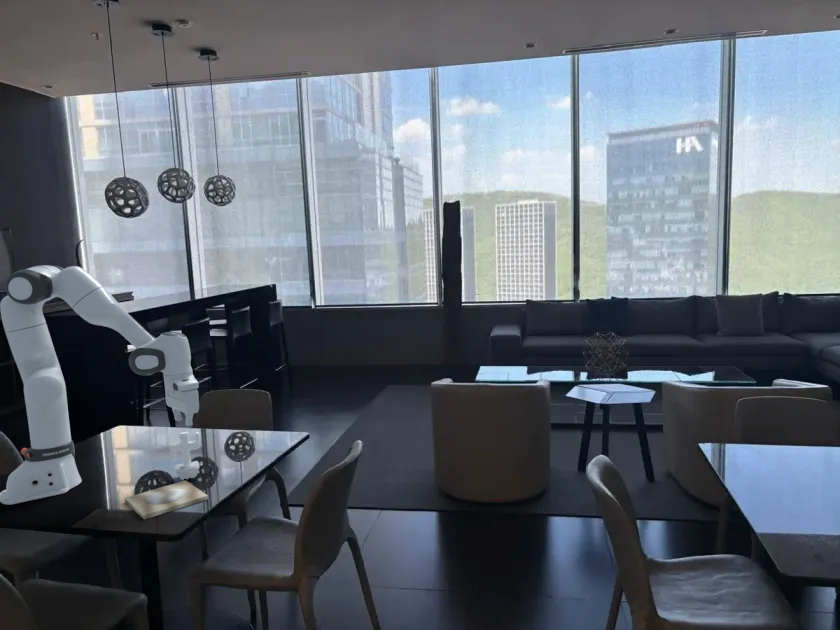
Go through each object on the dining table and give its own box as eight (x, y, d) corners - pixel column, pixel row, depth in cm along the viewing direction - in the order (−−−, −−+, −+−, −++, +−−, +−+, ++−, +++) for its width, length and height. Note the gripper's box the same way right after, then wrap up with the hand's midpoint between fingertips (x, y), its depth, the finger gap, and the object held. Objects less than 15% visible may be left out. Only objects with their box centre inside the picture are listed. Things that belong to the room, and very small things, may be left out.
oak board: (144, 519, 163) (143, 514, 163) (125, 501, 177) (124, 497, 176) (208, 499, 175) (207, 494, 175) (185, 484, 188) (185, 479, 188)
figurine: (172, 476, 196) (168, 432, 195) (202, 470, 200) (198, 427, 199) (172, 483, 190) (168, 437, 188) (204, 477, 194) (200, 432, 192)
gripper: (158, 379, 197) (163, 419, 199) (180, 387, 182) (185, 431, 184) (177, 376, 202) (182, 415, 203) (200, 383, 186) (205, 425, 188)
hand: (183, 422), depth 193 cm, fingers open, 8 cm apart
